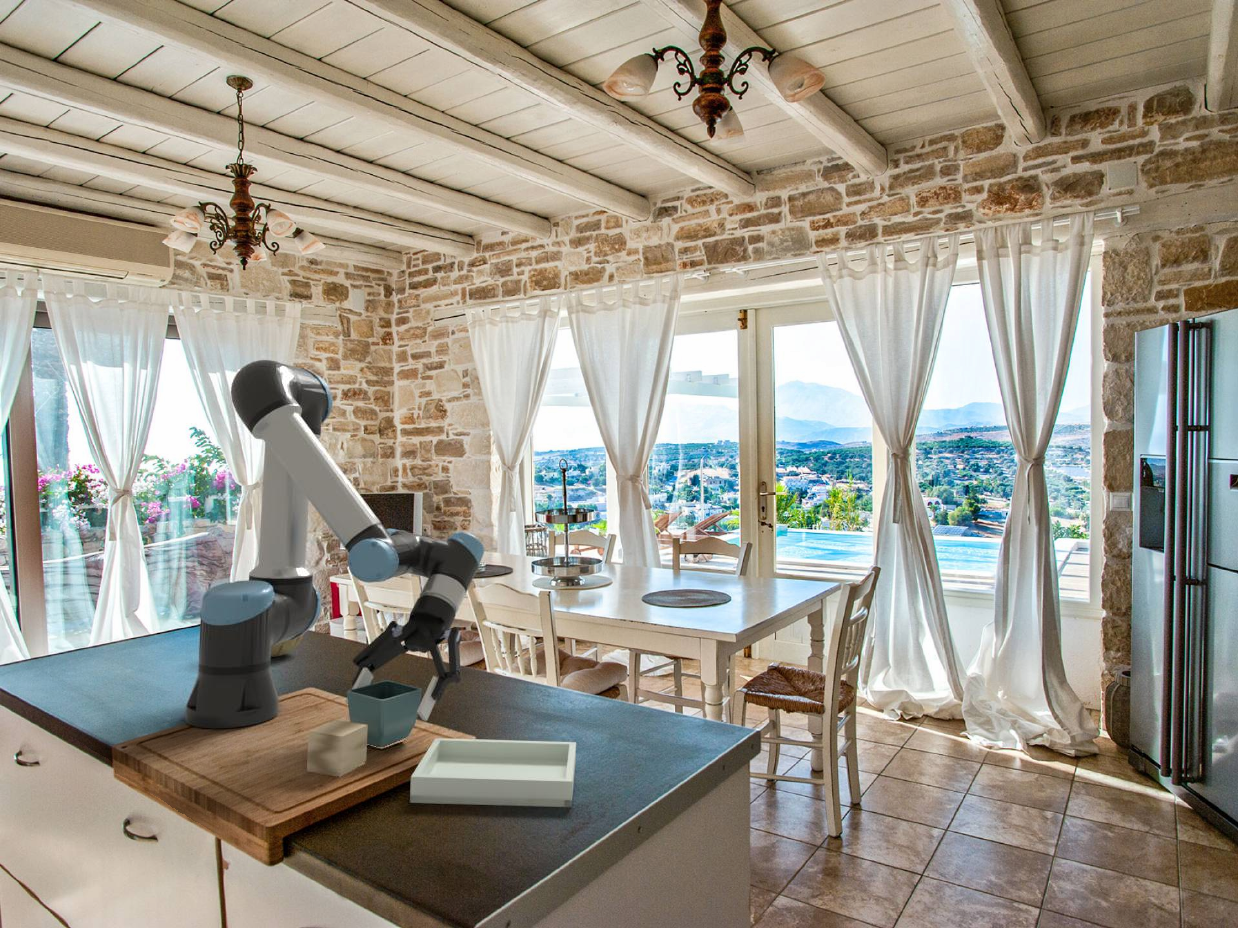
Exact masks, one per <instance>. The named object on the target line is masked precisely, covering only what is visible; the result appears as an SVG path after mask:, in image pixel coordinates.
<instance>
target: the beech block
mask: <svg viewBox="0 0 1238 928" xmlns="http://www.w3.org/2000/svg"><path fill="white" fill-rule="evenodd" d="M367 730H368V725H365V724H359V723H353V722H350V721H345V720H339V719H333V720H331V721H329V722H327V723H324V724H322V725H319V726H317V727H314V728H312V729H310V730H308V737H307V739H308V741H307V757H306V758H307V759H306V761H307V763H306V771H307V772H310V773H316V774H322V775H327V776H333V777H337V776H339V777H338V778H342V777H343V775H344V774H346V775H347V773H348V772H349V773H351V772H352V771H351V770H353V769H354V768H356V767H358V766H359V765H361V764H362V763H364V762H365V761H366V762H367V751H368V747H367V746H368V745H367ZM350 771H351V772H350ZM353 771H354V770H353ZM349 773H348V774H349ZM341 776H342V777H341ZM344 776H345V775H344Z"/></svg>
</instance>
